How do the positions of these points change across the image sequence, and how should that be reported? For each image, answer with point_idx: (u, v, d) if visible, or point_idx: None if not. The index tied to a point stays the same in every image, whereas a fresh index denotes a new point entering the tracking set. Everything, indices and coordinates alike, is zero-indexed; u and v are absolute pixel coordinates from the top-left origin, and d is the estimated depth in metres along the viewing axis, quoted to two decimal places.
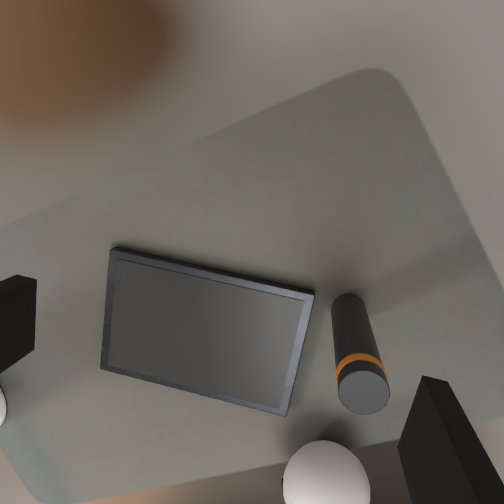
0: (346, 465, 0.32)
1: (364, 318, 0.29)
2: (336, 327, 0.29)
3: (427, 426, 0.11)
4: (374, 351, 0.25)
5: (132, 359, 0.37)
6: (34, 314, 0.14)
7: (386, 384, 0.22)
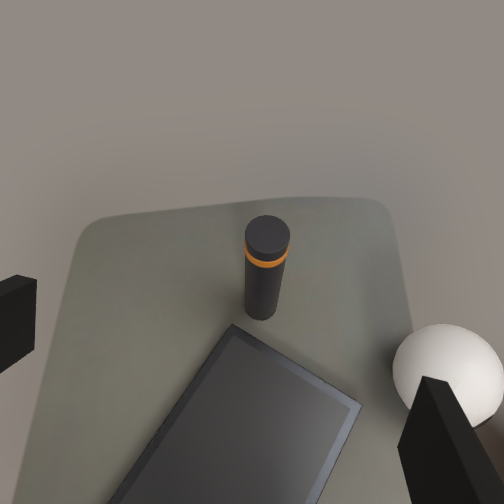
0: (410, 336, 0.30)
1: None
2: (248, 290, 0.30)
3: (427, 426, 0.11)
4: None
5: None
6: (34, 314, 0.14)
7: None
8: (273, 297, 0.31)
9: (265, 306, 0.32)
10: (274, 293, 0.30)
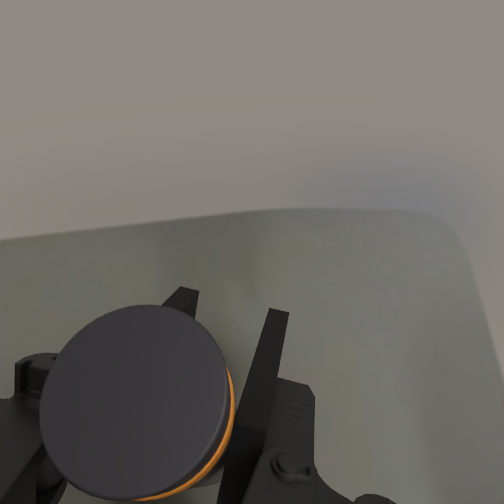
0: None
1: None
2: None
3: None
4: None
5: None
6: None
7: (135, 307, 0.07)
8: (217, 477, 0.12)
9: None
10: (217, 476, 0.11)
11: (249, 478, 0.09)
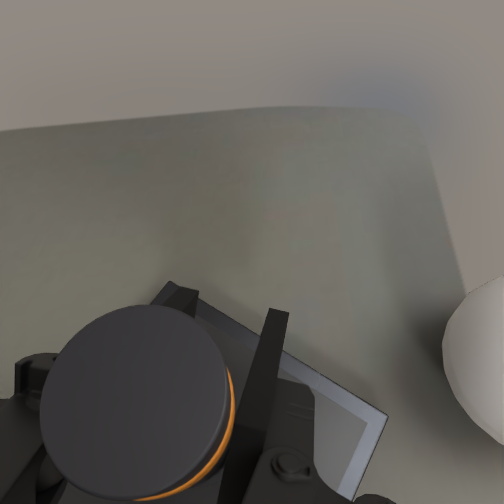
0: (476, 293, 0.16)
1: None
2: None
3: None
4: None
5: None
6: None
7: (136, 307, 0.07)
8: (217, 477, 0.12)
9: None
10: (217, 476, 0.11)
11: (249, 478, 0.09)
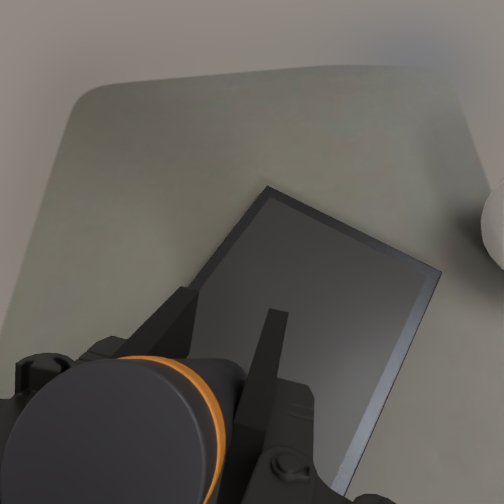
0: None
1: None
2: None
3: None
4: None
5: None
6: (193, 322, 0.16)
7: (100, 364, 0.06)
8: None
9: None
10: None
11: (248, 478, 0.09)
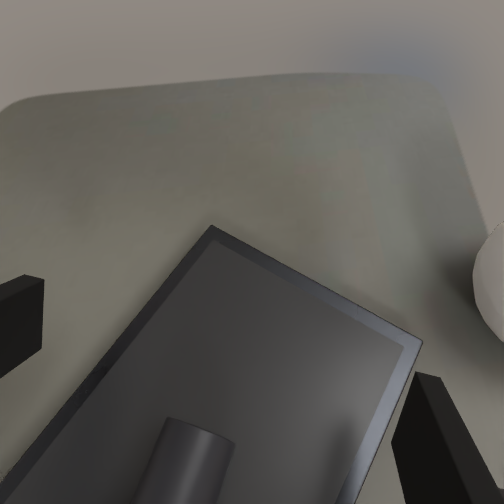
0: None
1: None
2: None
3: (419, 421, 0.11)
4: None
5: None
6: (41, 313, 0.14)
7: None
8: None
9: None
10: None
11: None
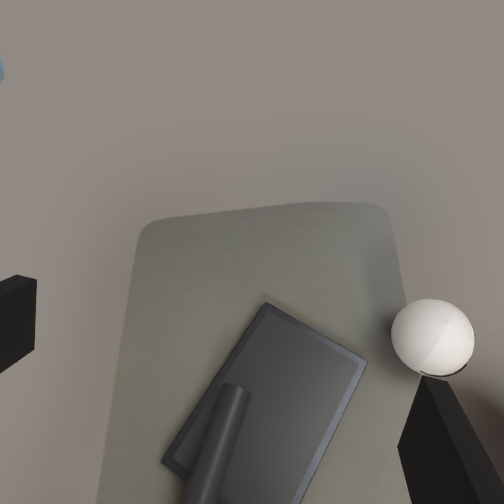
0: (404, 308, 0.39)
1: None
2: (232, 452, 0.34)
3: (427, 426, 0.11)
4: None
5: (276, 496, 0.34)
6: (34, 314, 0.14)
7: None
8: (216, 435, 0.34)
9: (228, 422, 0.34)
10: (213, 444, 0.34)
11: None
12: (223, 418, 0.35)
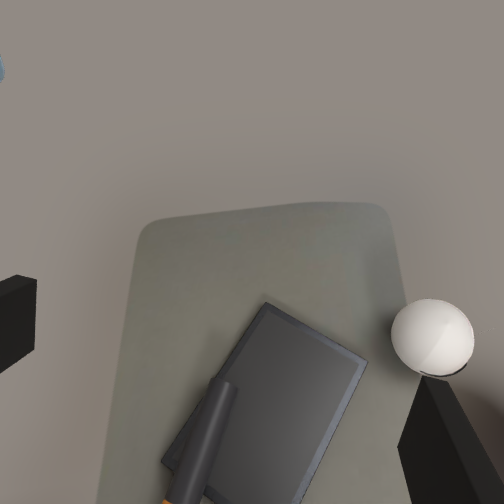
0: (404, 308, 0.39)
1: None
2: (209, 442, 0.34)
3: (427, 426, 0.11)
4: None
5: (276, 496, 0.34)
6: (34, 314, 0.14)
7: None
8: (193, 427, 0.35)
9: (202, 412, 0.35)
10: (189, 436, 0.35)
11: None
12: (199, 410, 0.35)
